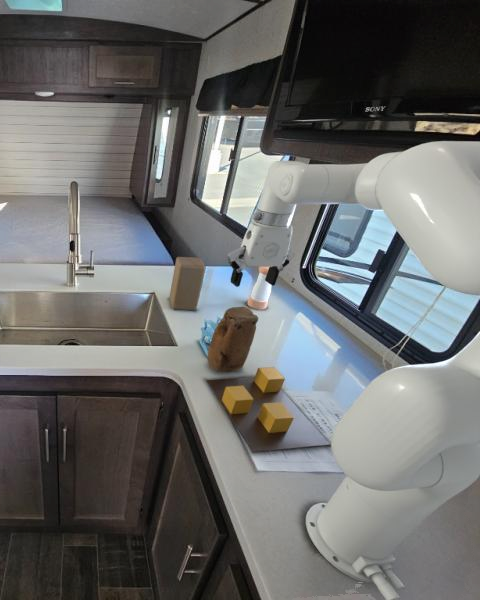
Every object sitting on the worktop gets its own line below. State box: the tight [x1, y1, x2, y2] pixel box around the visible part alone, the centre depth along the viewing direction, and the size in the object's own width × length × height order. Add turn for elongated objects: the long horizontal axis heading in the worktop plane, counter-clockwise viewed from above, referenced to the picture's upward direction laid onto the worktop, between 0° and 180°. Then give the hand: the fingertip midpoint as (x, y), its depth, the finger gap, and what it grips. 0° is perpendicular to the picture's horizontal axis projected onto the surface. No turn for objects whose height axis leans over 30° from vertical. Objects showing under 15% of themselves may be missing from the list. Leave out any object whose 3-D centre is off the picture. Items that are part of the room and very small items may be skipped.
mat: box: [206, 376, 331, 453], centre depth 87 cm, size 24×20×1 cm
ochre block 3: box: [258, 402, 294, 433], centre depth 81 cm, size 5×5×5 cm
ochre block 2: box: [254, 366, 286, 393], centre depth 93 cm, size 5×5×5 cm
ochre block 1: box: [222, 386, 254, 414], centre depth 86 cm, size 5×5×5 cm
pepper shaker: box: [246, 266, 272, 311], centre depth 132 cm, size 7×7×19 cm
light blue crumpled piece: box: [199, 316, 223, 357], centre depth 107 cm, size 8×8×12 cm
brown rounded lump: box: [207, 306, 259, 373], centre depth 97 cm, size 11×8×20 cm
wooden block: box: [168, 256, 207, 311], centre depth 131 cm, size 10×10×20 cm
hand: (252, 283), depth 83 cm, fingers open, 9 cm apart
